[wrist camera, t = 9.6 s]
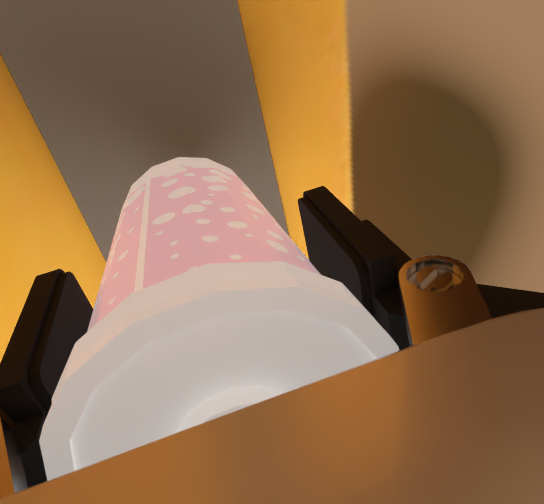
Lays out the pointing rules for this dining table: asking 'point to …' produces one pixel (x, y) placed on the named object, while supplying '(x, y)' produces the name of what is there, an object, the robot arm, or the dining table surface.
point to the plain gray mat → (137, 94)
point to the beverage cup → (198, 319)
